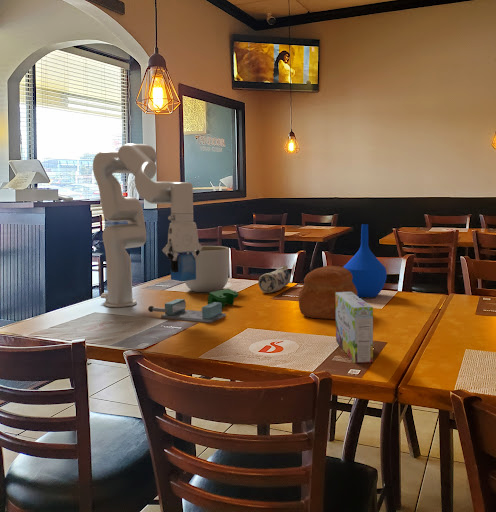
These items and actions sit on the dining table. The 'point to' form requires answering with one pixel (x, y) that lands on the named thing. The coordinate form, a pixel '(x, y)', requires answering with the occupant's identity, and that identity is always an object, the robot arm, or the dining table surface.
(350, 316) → the snack box
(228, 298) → the clamp
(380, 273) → the vase
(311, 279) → the bread
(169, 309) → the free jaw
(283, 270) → the pencil case
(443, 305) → the dining table surface
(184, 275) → the perfume bottle
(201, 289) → the planter
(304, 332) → the dining table surface
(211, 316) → the vise bed
